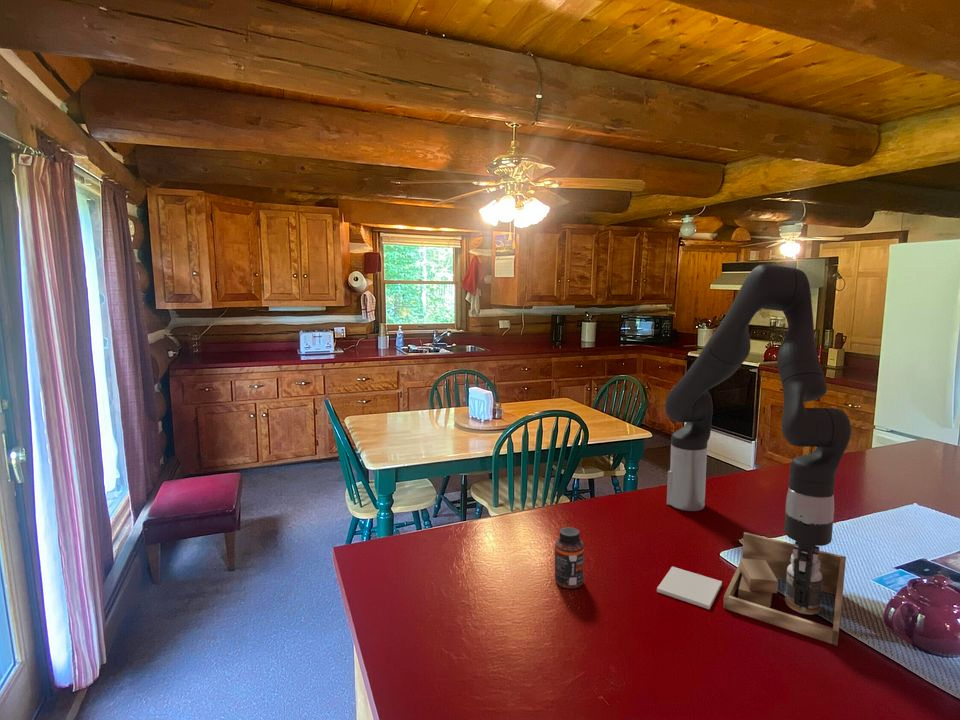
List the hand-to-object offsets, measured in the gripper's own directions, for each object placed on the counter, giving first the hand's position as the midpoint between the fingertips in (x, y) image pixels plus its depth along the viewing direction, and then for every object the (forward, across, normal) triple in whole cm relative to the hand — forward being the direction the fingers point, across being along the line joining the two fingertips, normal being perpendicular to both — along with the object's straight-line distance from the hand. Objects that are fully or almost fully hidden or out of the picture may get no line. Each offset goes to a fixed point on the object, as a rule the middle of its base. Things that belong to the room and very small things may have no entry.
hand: (802, 596), depth 99 cm
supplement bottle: (+2, +18, -40) cm, 44 cm away
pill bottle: (+2, 0, 0) cm, 2 cm away
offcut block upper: (0, 0, -8) cm, 8 cm away
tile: (+2, +6, -19) cm, 20 cm away
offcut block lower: (+3, 0, -8) cm, 8 cm away
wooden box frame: (+2, 0, -3) cm, 4 cm away
